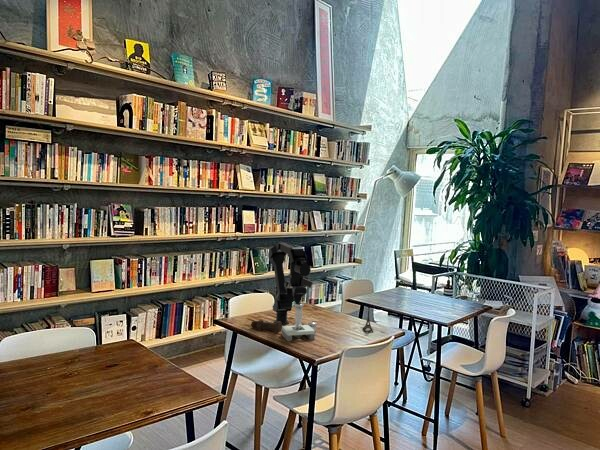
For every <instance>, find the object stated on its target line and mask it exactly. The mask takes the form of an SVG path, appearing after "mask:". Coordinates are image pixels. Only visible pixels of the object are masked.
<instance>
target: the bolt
mask: <svg viewBox="0 0 600 450" xmlns="http://www.w3.org/2000/svg"><path fill="white" fill-rule="evenodd" d="M250 326H251V328H252V329H255V328H256V329H257V330H259V331H261V330H272V331H275V333H282V326H283V324H282V323H281V321H278V322H265V321H263V319H259V320H258V321H257V320H256V321H255V320H253V321H252V322H251V323H250Z"/></svg>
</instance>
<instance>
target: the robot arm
mask: <svg viewBox="0 0 600 450" xmlns="http://www.w3.org/2000/svg"><path fill="white" fill-rule="evenodd" d="M286 256H287V257H288V258H289V260H288V261H289V265H290V266H289V273H288V277H289V280H286V278H285V272H284V262H285V258H286ZM267 257H268V259H269V262H270V264H271V266H273V271H274V278H275V285H276V291H277V293H276V296H275V299H274V300H275V301H274V303H273V304H272V311H273V312H275V313H276V314H275V319H274V320H273V321H274V323H276V322H278V321H281V323H282V325H284V324H285V325H286V324H288V325H289V324H290V322H289V321H288V312H291V311H292V308H293V303H294V304H295V303H301V300H302V297H303V296H304V295H306V294H307V293H308V289H307V287H308V288H309V289H311V288H312V286H313V283H314V282H313V281H311V280H310V279H309V277H308V276H309V275H310V274H311V267H310V265H309V264H308V256H307V254H306V251H305V249H304V247H303V246H293V245H291V244H288V243H287V242H286V241H285V242H283V241H281V242H277V243H276V244H275V245H274V246H272V247H271V248H269V252H268V256H267ZM305 286H306V287H305Z"/></svg>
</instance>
